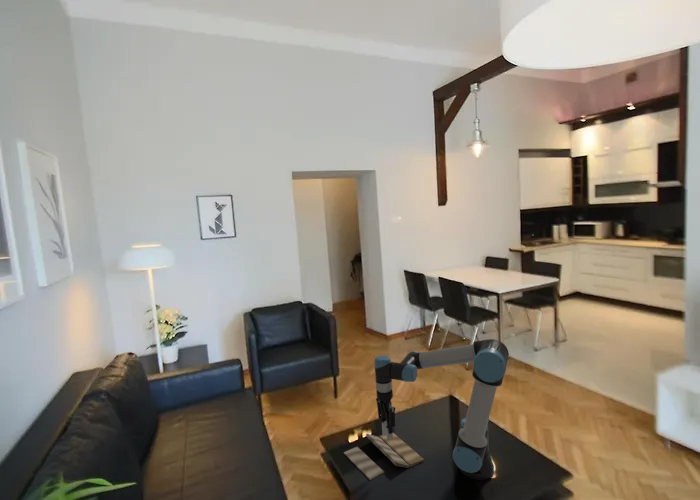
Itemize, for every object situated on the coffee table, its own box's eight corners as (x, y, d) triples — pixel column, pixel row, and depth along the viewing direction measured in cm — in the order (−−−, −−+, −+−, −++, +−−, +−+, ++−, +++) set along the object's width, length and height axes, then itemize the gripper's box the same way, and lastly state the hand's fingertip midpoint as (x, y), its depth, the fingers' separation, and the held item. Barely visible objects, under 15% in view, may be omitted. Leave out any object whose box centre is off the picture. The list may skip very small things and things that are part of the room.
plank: (384, 474, 173) (384, 471, 173) (370, 481, 169) (370, 478, 169) (357, 448, 194) (357, 446, 194) (343, 454, 190) (343, 452, 190)
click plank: (408, 468, 175) (409, 465, 175) (395, 465, 172) (396, 462, 172) (377, 438, 200) (378, 436, 200) (365, 435, 197) (366, 433, 197)
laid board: (423, 461, 179) (423, 458, 179) (410, 467, 176) (409, 464, 176) (391, 433, 204) (391, 431, 204) (379, 438, 201) (379, 435, 201)
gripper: (401, 393, 169) (404, 443, 171) (381, 381, 183) (385, 426, 185) (387, 398, 165) (390, 448, 167) (368, 385, 180) (372, 431, 182)
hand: (387, 436), depth 176 cm, fingers open, 3 cm apart
